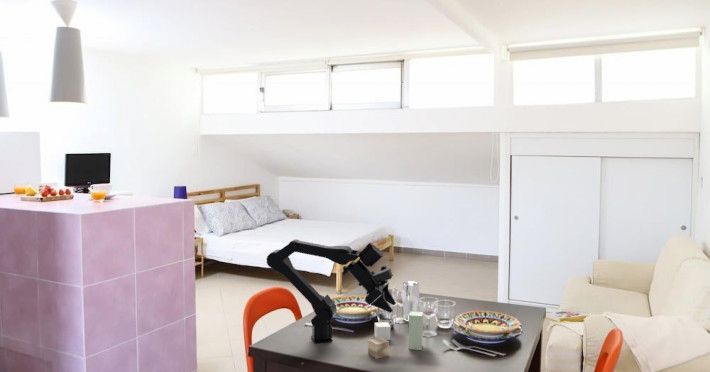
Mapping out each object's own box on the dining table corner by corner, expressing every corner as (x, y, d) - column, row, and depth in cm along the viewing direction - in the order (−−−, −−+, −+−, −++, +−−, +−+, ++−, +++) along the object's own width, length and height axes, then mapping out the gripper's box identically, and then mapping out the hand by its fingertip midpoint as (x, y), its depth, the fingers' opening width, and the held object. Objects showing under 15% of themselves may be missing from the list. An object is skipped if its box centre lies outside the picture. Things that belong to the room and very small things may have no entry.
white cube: (376, 340, 201) (376, 327, 201) (374, 335, 206) (374, 322, 206) (390, 340, 202) (390, 326, 202) (387, 335, 207) (387, 322, 206)
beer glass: (417, 323, 221) (418, 286, 219) (400, 322, 222) (401, 285, 221) (419, 317, 227) (420, 282, 226) (402, 316, 229) (403, 280, 228)
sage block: (408, 348, 193) (409, 315, 192) (409, 344, 198) (410, 311, 197) (421, 349, 192) (422, 316, 192) (422, 345, 197) (423, 312, 196)
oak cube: (376, 358, 184) (376, 344, 184) (368, 353, 188) (368, 339, 188) (388, 355, 187) (388, 341, 187) (380, 351, 191) (380, 337, 191)
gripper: (375, 266, 186) (407, 300, 185) (382, 255, 204) (412, 286, 203) (351, 287, 188) (383, 321, 187) (361, 274, 206) (390, 305, 205)
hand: (393, 307), depth 195 cm, fingers open, 9 cm apart
